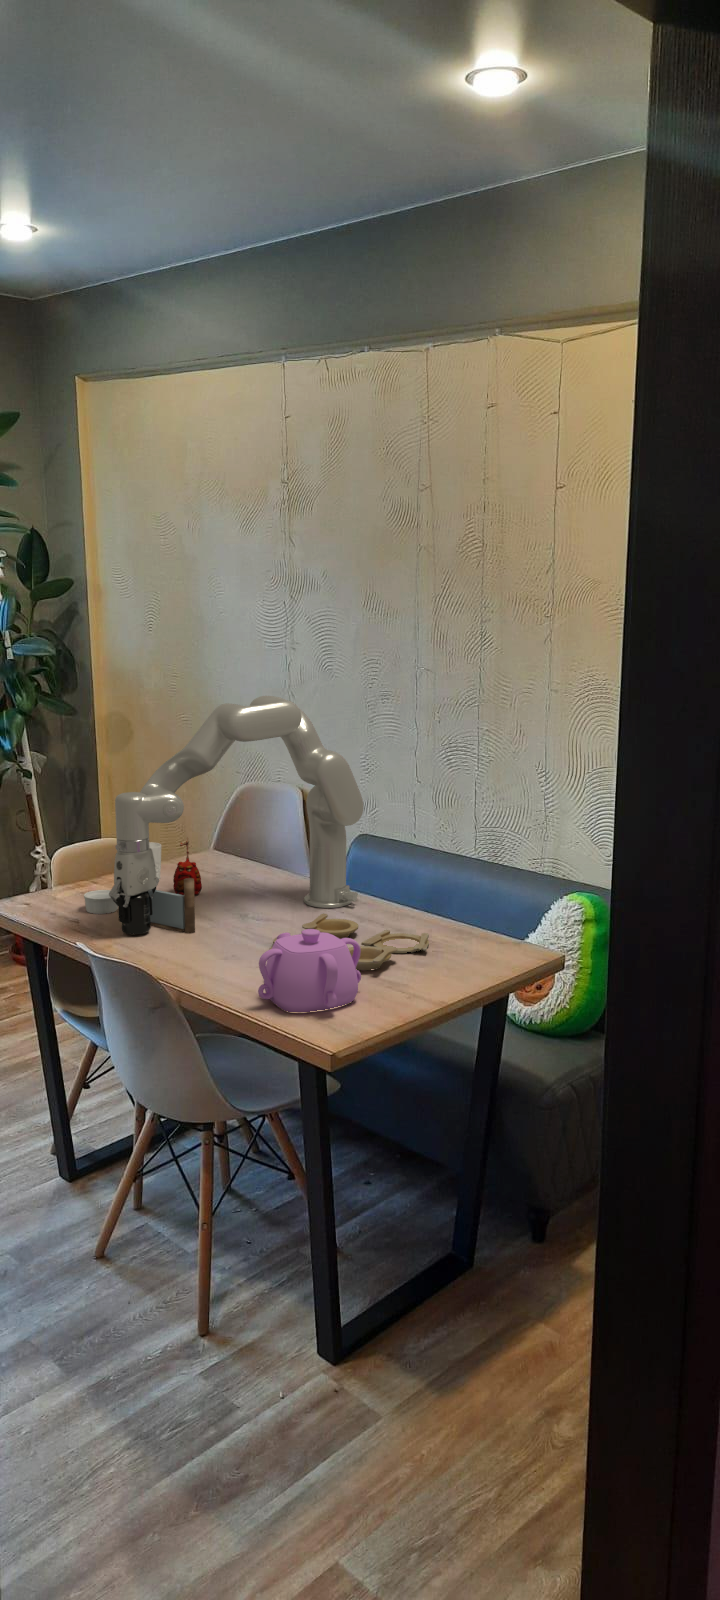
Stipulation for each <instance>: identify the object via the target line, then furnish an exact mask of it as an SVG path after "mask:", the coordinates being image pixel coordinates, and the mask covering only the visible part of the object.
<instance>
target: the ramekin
mask: <svg viewBox="0 0 720 1600" xmlns="http://www.w3.org/2000/svg"><path fill="white" fill-rule="evenodd" d="M110 891H111V889H97V890H96V889H95V890H92V891H91V890H90V891H87V892H85V893H84V894H83V898H84V904H85V910H86V912H87V913H89V914H92V913H93V915H107V914H111V912H112V913H114V912H116V911H117V910H118V906H117V905H116V903H115V902H114V901H113V899H112V898H111V897H110V896H109V892H110ZM106 913H107V914H106Z"/></svg>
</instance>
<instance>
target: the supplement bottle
mask: <svg viewBox="0 0 720 1600" xmlns="http://www.w3.org/2000/svg"><path fill="white" fill-rule="evenodd" d="M124 899H125V896H123V900H124ZM128 906H129V907H130V920H131V922H130V923H123V922H120V924H121V931H122V932H123V933H124V934H126V935H140V934H141V935H142V934H145V933H147V932H149V931H150V930H151V928H152V926H151V920H150V902H149V895H148V893H147V892H144V893H141V894H138V895H134V896H130V900H129V903H128Z"/></svg>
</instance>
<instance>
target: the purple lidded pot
mask: <svg viewBox="0 0 720 1600" xmlns="http://www.w3.org/2000/svg"><path fill="white" fill-rule="evenodd" d="M276 938H277V940H276V941H275V943H274V944H272V946H273V947H272V946H271V947H272V949H270V950H269V949H267V950H266V951H264V952H263V953H262V954H261V955H260V957H259V961H258V967H259V972H260V974H261V978H262V979H263V984H261V985H260V986H259V987H258V991H257V993H258V996H259V998H261V999H262V1000H270V1001H271V1002H272V1004H273V1005H275V1004H276V1005H277V1006H276V1005H275V1006H276V1007H278V1008H279V1007H280V1008H281V1009H280V1010H282V1009H283V1010H282V1011H284V1010H285V1011H288V1012H310V1011H317V1010H325V1009H330V1008H334V1007H338V1006H342V1005H345V1004H348V1003H350V1002H352V1001H354V1000H355V998H356V996H357V994H358V992H359V983H360V982H361V981H362V980H361V979H362V973H361V972H360V970H356V966H357V964H358V961H359V958H360V953H361V949H360V946H361V944H359V942H358V941H356V940H355V939H353V938H351V937H350V938H349V937H347V938H342V939H339V938H337V937H336V936H334V935H332V934H329V933H324V932H320V931H319V930H316V929H303V930H301V934H300V933H299V934H292V935H291V933H290V932H283V933H280V934H278V935H277V936H276ZM348 945H352V947H354V951H353V956H352V957H351V954H350V951H349V949H348V948H349V947H348ZM264 991H265V992H264ZM352 1003H353V1002H352ZM285 1011H284V1012H285ZM288 1012H287V1013H288Z"/></svg>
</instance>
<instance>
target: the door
mask: <svg viewBox="0 0 720 1600" xmlns="http://www.w3.org/2000/svg"><path fill="white" fill-rule="evenodd" d="M150 920H151V922H153V923H158V924H162V925H167V926H171V927H176V928H181V929H185V908H184V895H180V894H175V892H174V893H173V892H169V891H164V890H160V889H159V890H158V889H156V890H155V892H154V898H153V899H152V915H150Z"/></svg>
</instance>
